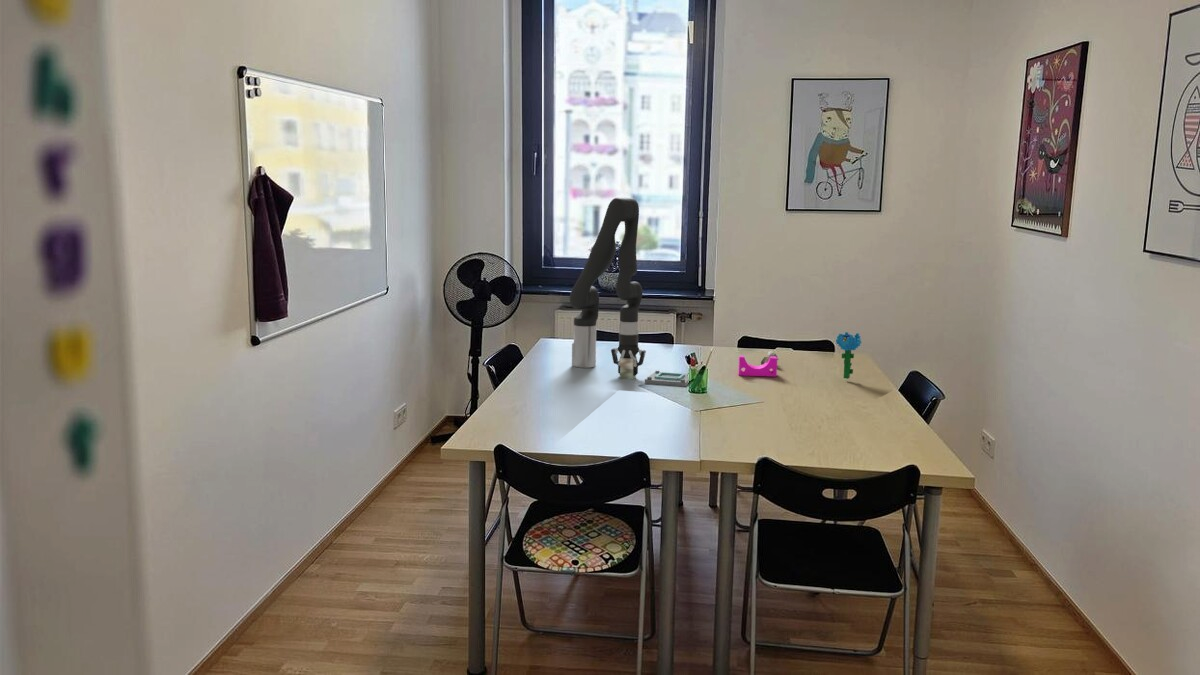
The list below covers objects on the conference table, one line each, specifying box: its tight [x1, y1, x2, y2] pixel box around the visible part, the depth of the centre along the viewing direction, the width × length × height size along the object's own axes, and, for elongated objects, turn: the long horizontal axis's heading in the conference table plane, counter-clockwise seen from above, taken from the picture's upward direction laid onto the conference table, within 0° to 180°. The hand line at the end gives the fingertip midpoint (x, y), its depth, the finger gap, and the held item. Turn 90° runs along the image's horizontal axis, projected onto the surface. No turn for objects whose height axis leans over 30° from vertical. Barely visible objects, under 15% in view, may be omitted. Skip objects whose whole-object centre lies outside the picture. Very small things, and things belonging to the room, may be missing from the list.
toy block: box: [738, 355, 778, 378], centre depth 366 cm, size 15×6×8 cm, turn 84°
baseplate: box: [644, 370, 690, 387], centre depth 350 cm, size 16×16×2 cm
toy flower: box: [835, 331, 862, 380], centre depth 359 cm, size 9×9×18 cm
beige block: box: [619, 357, 637, 380], centre depth 355 cm, size 5×5×8 cm
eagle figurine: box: [760, 350, 779, 365], centre depth 382 cm, size 8×7×9 cm
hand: (627, 375), depth 355 cm, fingers closed on beige block, 5 cm apart
